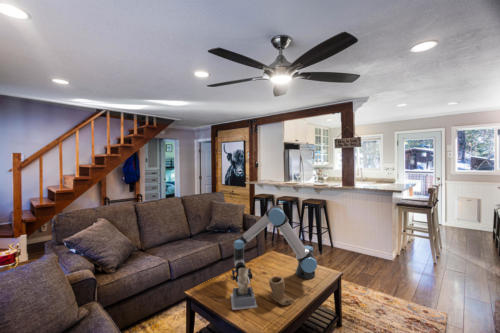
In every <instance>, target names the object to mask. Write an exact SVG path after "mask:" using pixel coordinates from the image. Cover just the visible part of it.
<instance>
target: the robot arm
mask: <svg viewBox="0 0 500 333" xmlns="http://www.w3.org/2000/svg"><path fill="white" fill-rule="evenodd" d="M289 221H290V220H289V218H288V216H287V215H286V213H285V211H284V208H283V207H282V206H280V205H278V204H275V205H272V206H270V207H269V209H268V210H266V212H265V213H264V215H263V216H262V217H261V218H260V219H259V220H257V221H256V222H255V223H254V224H253V225H252V226H251V227H249V229H247V231H245V232H244V233H243V234H242V235H240V236H238V238H237V240H236V239H235V241H234V243H233V263H234V269H231V274H232V281H235V283H237V286H238V287H239V268H247V267H246V263H245V247H246V245H247V244H249V243H250V241H251V240H252V239H254V238H255V237H256V236H257V235H258V234H259V233H261V232H262V231H263V230H264V229H265V228H266V227H268V226H269V225H270V224H272V225H273V226H274V228H275V229H278V230H279V232H280V233H281V234H282V237H284V239H285V240H286V242H287V243H288V245H289V246H290V248H291V249H292V250H293V252H294V253H295V255H296V256H295V258H296V260H297V266H296V270H295V275H296V276H297V277H298V278H300V279H303V280H311V279H314V278H315V277H316V272H315V271H316V269H317V267H318V261H317V260H316V258H315V255H314V247H313V246H311V245H304V243H303V242H302V241H301V239H300V237H299V236H298V235H297V233H296V232H295V230H294V229H293V227H292V226H291V224H290V223H289ZM247 269H248V286H250V285H251V280H253V273H252V270H251V268H247Z"/></svg>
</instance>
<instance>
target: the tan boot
mask: <svg viewBox="0 0 500 333" xmlns="http://www.w3.org/2000/svg"><path fill="white" fill-rule="evenodd" d="M268 281H269V282H268V283H269V286H270V289H271V292H272V293H270V295H269V296H270V298H271V299H272V300H273V301H274V302H276V303H278V304H279V305H282V306H288V305H291V304H292V303H293V302H294V301H295V299H294V298H292V297H290V295H287V294H286V293H285V287H286V285H285V279H284V278H283V277H282V276H278V275H276V276H271V277H270V279H269V280H268Z"/></svg>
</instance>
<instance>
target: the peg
mask: <svg viewBox="0 0 500 333" xmlns="http://www.w3.org/2000/svg"><path fill="white" fill-rule="evenodd" d="M248 269H249V268H247V267H246V268H239V286H238V288H239V291H238V292H239V294H247V292H248V287H249V285H248V274H249V273H248Z"/></svg>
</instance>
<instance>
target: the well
mask: <svg viewBox="0 0 500 333" xmlns="http://www.w3.org/2000/svg"><path fill="white" fill-rule="evenodd" d="M238 291H239V287H233V288H232V293H231V294H230V301H231V310H232V311H234V310H235V311H236V310H247V309H256V308H258V304H257V301H256V297H255V294H254V293H255V292H254V291H253V287H252V286H248V292H247V294H239V292H238Z"/></svg>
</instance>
